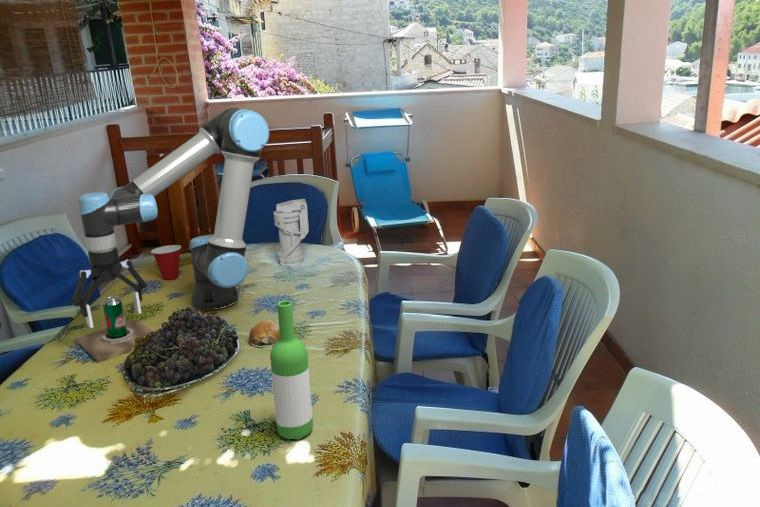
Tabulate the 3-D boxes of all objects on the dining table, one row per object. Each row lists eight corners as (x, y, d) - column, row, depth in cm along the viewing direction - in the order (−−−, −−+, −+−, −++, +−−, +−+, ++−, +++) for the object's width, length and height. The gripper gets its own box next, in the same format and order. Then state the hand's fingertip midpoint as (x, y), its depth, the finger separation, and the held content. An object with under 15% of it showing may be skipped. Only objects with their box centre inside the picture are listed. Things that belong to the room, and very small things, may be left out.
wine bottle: (307, 443, 125) (297, 311, 116) (272, 440, 127) (259, 309, 118) (317, 422, 133) (308, 296, 123) (284, 419, 134) (272, 294, 125)
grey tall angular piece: (278, 267, 235) (272, 205, 227) (277, 259, 245) (272, 199, 237) (311, 264, 237) (307, 202, 229) (309, 256, 247) (305, 197, 239)
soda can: (120, 341, 172) (113, 302, 168) (105, 340, 173) (97, 301, 169) (131, 333, 176) (124, 296, 173) (116, 332, 177) (109, 295, 174)
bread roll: (288, 350, 175) (293, 323, 175) (269, 350, 165) (274, 321, 166) (260, 344, 179) (265, 318, 179) (240, 344, 169) (245, 316, 170)
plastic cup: (173, 271, 234) (169, 242, 231) (191, 276, 228) (187, 246, 224) (149, 279, 226) (144, 249, 222) (166, 284, 220) (162, 253, 216)
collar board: (137, 323, 187) (136, 316, 186) (162, 341, 175) (160, 333, 174) (76, 342, 176) (74, 334, 175) (98, 362, 163) (96, 354, 162)
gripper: (141, 236, 177) (151, 303, 183) (49, 256, 161) (64, 328, 167) (151, 241, 172) (162, 309, 178) (58, 262, 156) (73, 336, 162)
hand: (115, 319), depth 173 cm, fingers open, 13 cm apart
